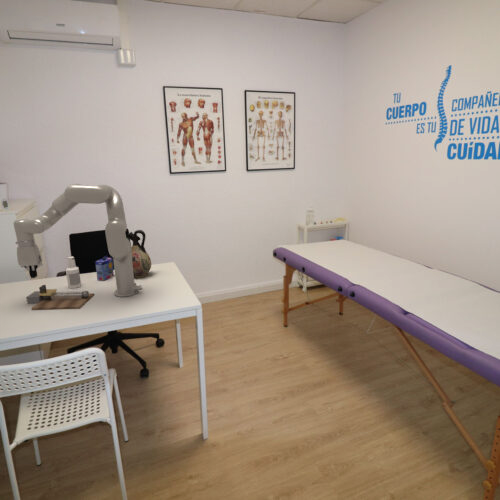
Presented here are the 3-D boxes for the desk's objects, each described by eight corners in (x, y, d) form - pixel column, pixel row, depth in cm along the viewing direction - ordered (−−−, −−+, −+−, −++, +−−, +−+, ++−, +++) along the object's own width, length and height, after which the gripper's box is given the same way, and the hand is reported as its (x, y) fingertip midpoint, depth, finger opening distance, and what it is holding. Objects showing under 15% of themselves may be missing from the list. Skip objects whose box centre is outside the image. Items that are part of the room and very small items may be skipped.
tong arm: (90, 296, 192) (89, 291, 191) (86, 299, 188) (85, 293, 187) (48, 297, 192) (47, 291, 191) (43, 300, 188) (42, 294, 187)
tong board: (94, 295, 196) (94, 293, 196) (79, 308, 179) (79, 306, 179) (50, 296, 196) (50, 294, 196) (31, 309, 179) (31, 308, 178)
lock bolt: (56, 291, 192) (55, 283, 191) (50, 295, 186) (49, 287, 185) (45, 291, 192) (44, 284, 191) (39, 295, 186) (38, 288, 185)
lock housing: (48, 297, 194) (46, 291, 193) (39, 303, 186) (38, 296, 185) (36, 297, 194) (34, 291, 193) (27, 303, 186) (26, 296, 185)
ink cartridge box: (104, 281, 218) (101, 258, 214) (96, 280, 219) (93, 257, 216) (114, 276, 227) (112, 254, 223) (107, 275, 229) (104, 253, 225)
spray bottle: (76, 289, 206) (71, 259, 201) (65, 288, 207) (61, 258, 202) (83, 285, 212) (79, 255, 207) (73, 284, 213) (69, 255, 209)
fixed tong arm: (83, 295, 193) (83, 291, 192) (81, 297, 190) (81, 293, 190) (48, 296, 192) (48, 292, 192) (46, 298, 190) (45, 293, 190)
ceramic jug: (123, 280, 219) (117, 232, 212) (132, 272, 234) (127, 227, 226) (150, 279, 219) (145, 232, 211) (157, 271, 233) (153, 226, 226)
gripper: (7, 246, 178) (15, 280, 183) (37, 244, 178) (44, 279, 183) (16, 242, 186) (24, 275, 190) (45, 240, 186) (52, 274, 191)
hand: (34, 277), depth 187 cm, fingers closed
